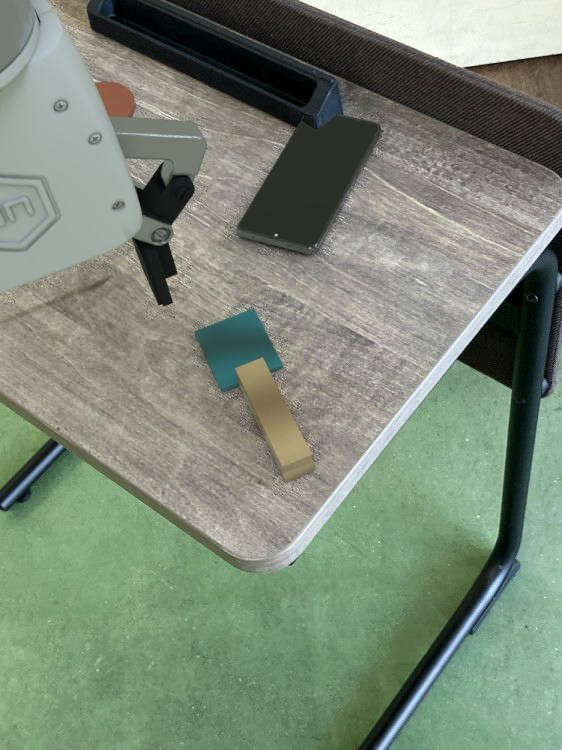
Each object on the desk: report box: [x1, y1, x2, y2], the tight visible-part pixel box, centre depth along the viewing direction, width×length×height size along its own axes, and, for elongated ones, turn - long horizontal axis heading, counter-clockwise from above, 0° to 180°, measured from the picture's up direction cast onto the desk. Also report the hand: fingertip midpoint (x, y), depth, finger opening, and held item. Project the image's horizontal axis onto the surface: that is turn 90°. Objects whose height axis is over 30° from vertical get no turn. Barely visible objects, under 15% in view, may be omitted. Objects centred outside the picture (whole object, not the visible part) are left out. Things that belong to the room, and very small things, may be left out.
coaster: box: [94, 80, 136, 117], centre depth 90 cm, size 7×7×1 cm
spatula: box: [194, 308, 315, 483], centre depth 70 cm, size 15×5×2 cm, turn 23°
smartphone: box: [236, 112, 382, 255], centre depth 82 cm, size 7×1×16 cm
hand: (64, 321), depth 46 cm, fingers open, 9 cm apart
